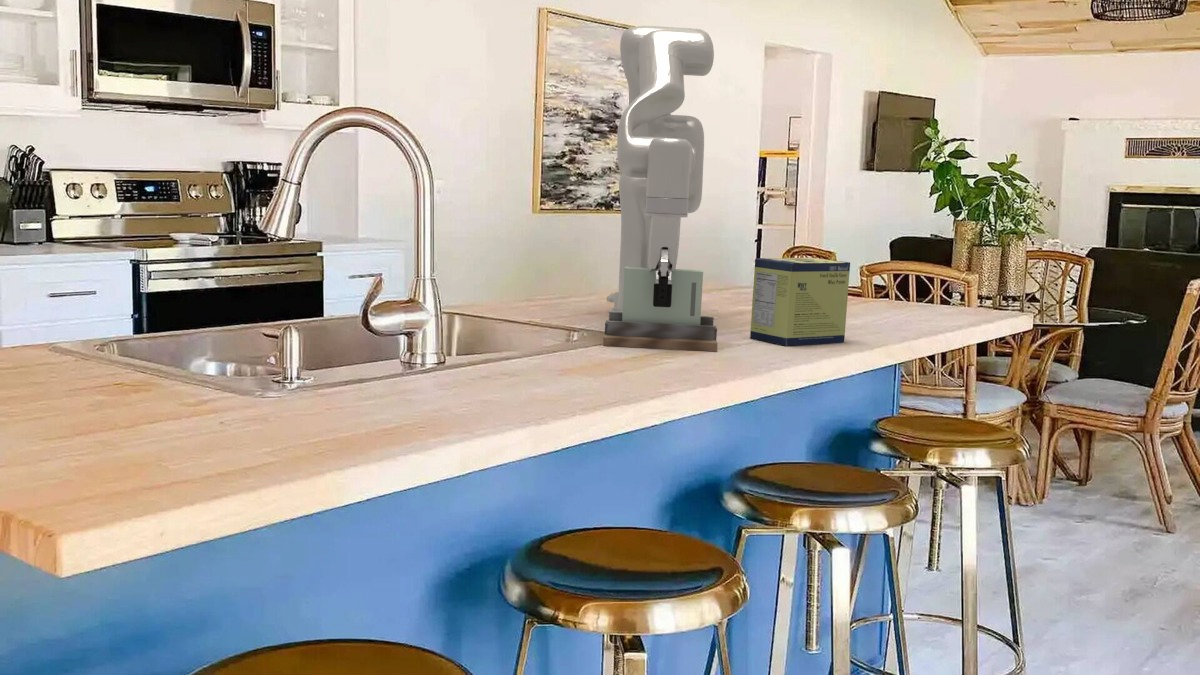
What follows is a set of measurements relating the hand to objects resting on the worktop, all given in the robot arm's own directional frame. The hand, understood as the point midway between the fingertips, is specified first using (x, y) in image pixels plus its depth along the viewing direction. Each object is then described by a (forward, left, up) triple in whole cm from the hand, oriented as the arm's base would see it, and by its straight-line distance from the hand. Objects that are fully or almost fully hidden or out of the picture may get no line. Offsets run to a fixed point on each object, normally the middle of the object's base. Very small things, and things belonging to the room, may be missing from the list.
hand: (661, 303), depth 212 cm
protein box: (+12, +27, -8) cm, 30 cm away
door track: (0, 0, -7) cm, 7 cm away
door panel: (0, 0, -6) cm, 6 cm away
